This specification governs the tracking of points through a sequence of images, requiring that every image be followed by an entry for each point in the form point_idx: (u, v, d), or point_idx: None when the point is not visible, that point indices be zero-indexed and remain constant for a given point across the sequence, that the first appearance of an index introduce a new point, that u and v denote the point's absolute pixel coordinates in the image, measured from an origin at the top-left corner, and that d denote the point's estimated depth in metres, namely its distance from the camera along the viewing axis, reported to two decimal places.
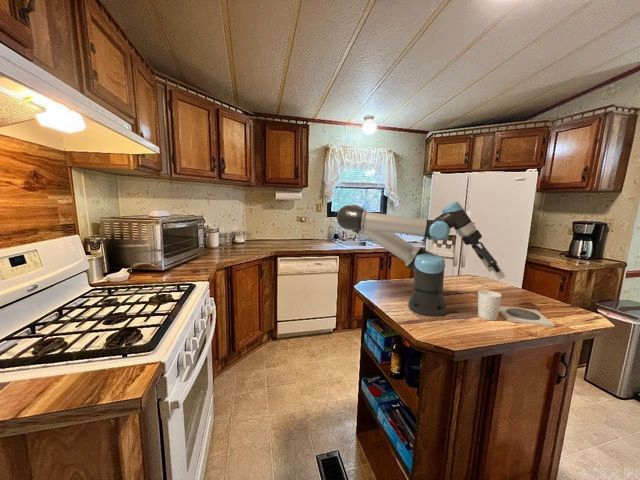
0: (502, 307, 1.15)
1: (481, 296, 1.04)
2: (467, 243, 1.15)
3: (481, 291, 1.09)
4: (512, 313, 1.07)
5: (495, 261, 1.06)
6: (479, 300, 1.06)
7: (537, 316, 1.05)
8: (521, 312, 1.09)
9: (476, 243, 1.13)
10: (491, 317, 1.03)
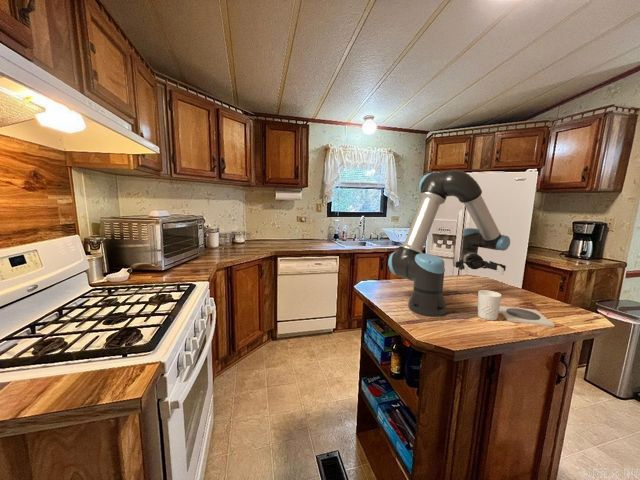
0: (502, 307, 1.15)
1: (481, 296, 1.04)
2: (480, 256, 1.30)
3: (481, 291, 1.09)
4: (512, 313, 1.07)
5: (504, 270, 1.19)
6: (479, 300, 1.06)
7: (537, 316, 1.05)
8: (521, 312, 1.09)
9: None
10: (491, 317, 1.03)
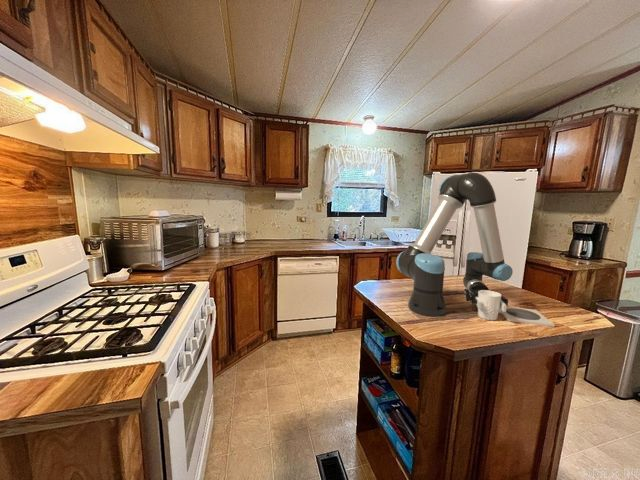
0: None
1: (481, 296, 1.04)
2: (485, 285, 1.19)
3: (481, 291, 1.09)
4: (512, 313, 1.07)
5: (507, 304, 1.06)
6: None
7: (537, 316, 1.05)
8: (521, 312, 1.09)
9: None
10: (491, 316, 1.03)
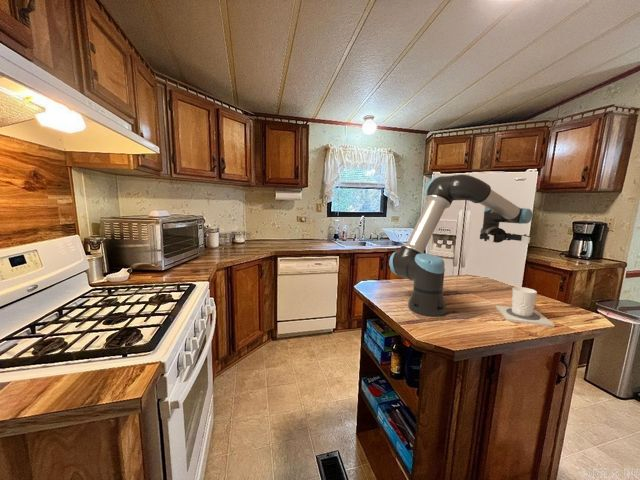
0: (502, 307, 1.15)
1: (516, 292, 1.05)
2: (502, 229, 1.33)
3: (515, 287, 1.10)
4: (512, 313, 1.07)
5: None
6: (514, 296, 1.07)
7: (537, 316, 1.05)
8: None
9: None
10: (526, 313, 1.04)
